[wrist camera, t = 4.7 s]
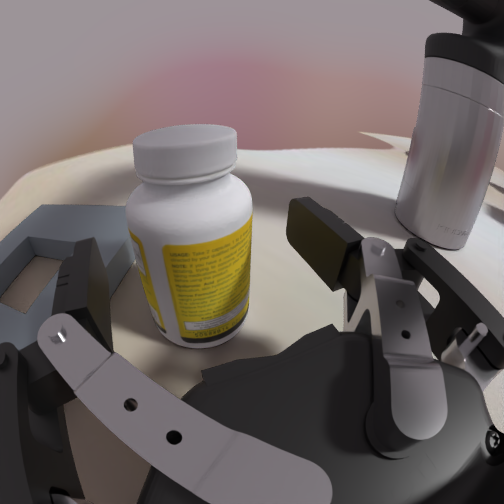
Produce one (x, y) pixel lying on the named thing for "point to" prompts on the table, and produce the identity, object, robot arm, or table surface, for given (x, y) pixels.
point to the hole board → (59, 257)
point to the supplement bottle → (192, 232)
